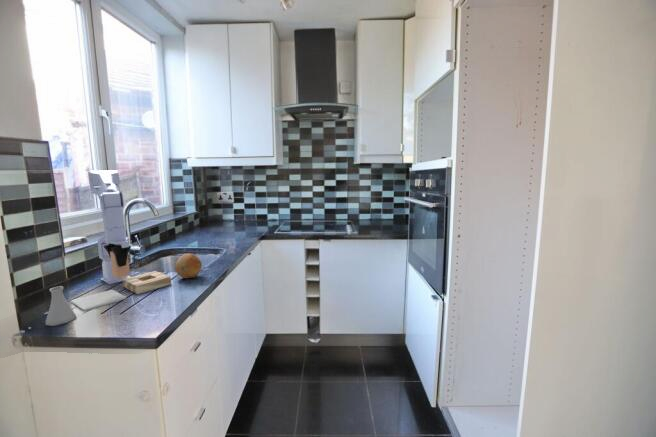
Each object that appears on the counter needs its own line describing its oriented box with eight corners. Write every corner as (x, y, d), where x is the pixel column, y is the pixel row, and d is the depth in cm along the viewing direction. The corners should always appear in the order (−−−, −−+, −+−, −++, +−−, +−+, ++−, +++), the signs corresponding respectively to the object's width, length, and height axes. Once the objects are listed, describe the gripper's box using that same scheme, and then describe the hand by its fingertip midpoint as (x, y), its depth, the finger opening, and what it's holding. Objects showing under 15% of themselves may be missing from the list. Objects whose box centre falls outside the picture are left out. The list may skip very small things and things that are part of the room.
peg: (112, 276, 112) (109, 251, 110) (125, 273, 115) (122, 248, 113) (117, 278, 109) (114, 252, 108) (130, 275, 112) (127, 250, 111)
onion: (173, 283, 122) (171, 258, 121) (179, 275, 132) (177, 251, 130) (200, 280, 124) (198, 256, 123) (203, 273, 134) (202, 250, 132)
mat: (71, 302, 106) (71, 300, 106) (112, 290, 115) (112, 289, 115) (83, 311, 98) (83, 309, 98) (126, 298, 108) (126, 296, 108)
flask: (81, 318, 94) (77, 286, 92) (51, 329, 88) (45, 294, 86) (70, 313, 97) (66, 282, 96) (40, 323, 91) (35, 290, 90)
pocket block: (123, 287, 119) (122, 279, 118) (156, 278, 128) (155, 270, 128) (137, 294, 112) (136, 286, 111) (171, 284, 121) (170, 276, 121)
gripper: (136, 227, 108) (141, 265, 110) (118, 223, 117) (123, 259, 119) (113, 230, 102) (118, 270, 105) (96, 226, 111) (101, 263, 113)
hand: (119, 264), depth 111 cm, fingers closed on peg, 4 cm apart
